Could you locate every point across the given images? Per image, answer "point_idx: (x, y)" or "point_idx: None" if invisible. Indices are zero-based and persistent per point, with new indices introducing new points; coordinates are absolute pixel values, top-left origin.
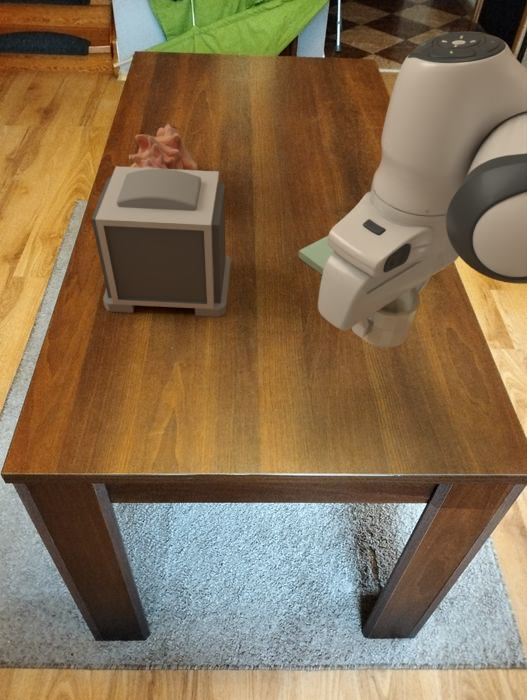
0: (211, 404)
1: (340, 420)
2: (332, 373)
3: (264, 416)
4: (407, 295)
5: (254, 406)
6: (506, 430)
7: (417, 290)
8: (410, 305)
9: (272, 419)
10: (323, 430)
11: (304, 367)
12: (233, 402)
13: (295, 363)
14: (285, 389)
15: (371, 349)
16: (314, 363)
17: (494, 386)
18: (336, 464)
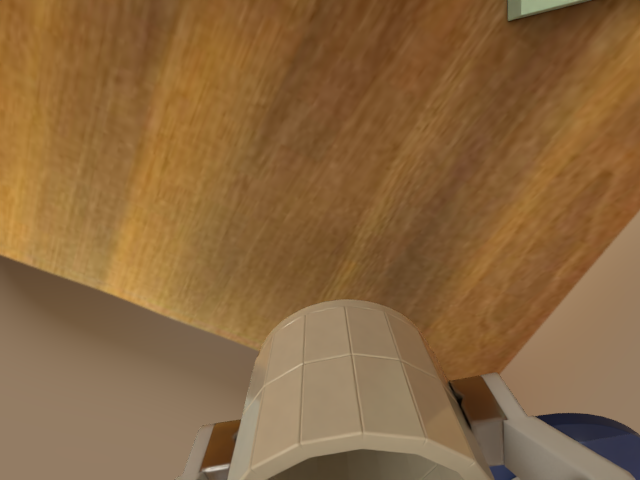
0: (37, 136)
1: (263, 267)
2: (305, 172)
3: (136, 206)
4: (460, 476)
5: (124, 178)
6: (482, 374)
7: (520, 472)
8: (442, 473)
9: (149, 218)
10: (227, 272)
11: (259, 131)
12: (84, 151)
13: (245, 112)
14: (197, 167)
15: (419, 150)
16: (284, 131)
17: (541, 315)
18: (219, 326)
